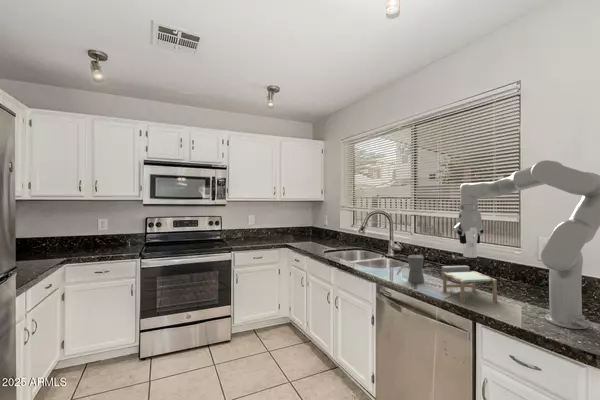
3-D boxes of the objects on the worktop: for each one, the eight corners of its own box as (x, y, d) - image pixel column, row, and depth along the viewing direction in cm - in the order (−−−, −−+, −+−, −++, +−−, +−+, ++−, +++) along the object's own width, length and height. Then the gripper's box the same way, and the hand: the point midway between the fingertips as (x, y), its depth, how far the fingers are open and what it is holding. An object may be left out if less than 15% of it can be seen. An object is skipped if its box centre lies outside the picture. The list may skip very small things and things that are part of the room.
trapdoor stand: (497, 301, 139) (496, 279, 139) (461, 302, 138) (461, 281, 138) (474, 290, 156) (474, 270, 156) (443, 291, 155) (442, 272, 155)
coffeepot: (415, 285, 167) (415, 254, 167) (402, 281, 175) (401, 251, 175) (432, 280, 175) (431, 251, 175) (418, 277, 183) (418, 248, 183)
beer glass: (458, 255, 147) (458, 226, 147) (468, 254, 149) (468, 225, 149) (471, 258, 140) (470, 227, 140) (481, 257, 143) (480, 226, 143)
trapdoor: (491, 285, 140) (491, 274, 140) (463, 286, 140) (463, 275, 140) (466, 274, 160) (466, 265, 160) (441, 275, 159) (441, 266, 159)
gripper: (456, 208, 141) (457, 245, 141) (491, 207, 141) (491, 244, 141) (448, 208, 148) (448, 242, 148) (481, 207, 149) (481, 241, 149)
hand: (469, 243), depth 145 cm, fingers closed on beer glass, 6 cm apart
